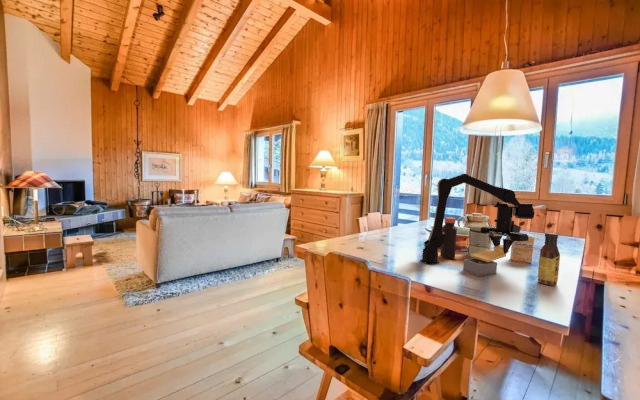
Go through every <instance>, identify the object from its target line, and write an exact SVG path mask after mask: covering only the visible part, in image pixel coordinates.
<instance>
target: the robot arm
mask: <svg viewBox="0 0 640 400" xmlns="http://www.w3.org/2000/svg"><path fill="white" fill-rule="evenodd" d="M462 184H466V185H467V186H468V185H469V186H471V187H474V188H476V189H477V190H480V191H483V192H484V193H487V194H489V195H491V196H492V197H493V198H495V199H496V200H497V201H496V202H494V203H493V204H492V205H491V206H492V207H493V208H496V219H494V221H493V222H494V223H495V227H494V226H482V227H480V228H481V230H480V233H483V234H487V233H488V232H489V235H488V237H490V239H491V243H492V244H493V247H495V246H498V245H501V239H502V238H503V237H505V238H503V239H502V245H503V249H504V254H506V255H507V254H508V253H509V252H508V250H509V249H511V246H512V243H513V242H514V241H528V235H529V234H527V233H525V232H521V229H522V227H521V226H519V225H518V224H515V221H514V220H513V217H514V218H515V219H519V220H520V219H521V220H522V219H523V220H533V218H534V217H535V210H534V207H533V205H534V204H533V203H531V202H526V203H523V202H521V203H520V201H519V200H518V199H517V198H516V192H515V191H514V190H512V189H508V188H504V187H500V186H496V185H493V184H490V183H488V182H485V181H483V180H480V179H478V178H476V177H473V176H472V175H471V176H470V175H469V174H467V173H461V174H459V175H457V176H453V177H450V178H441V179H439V180H438V181H437V184H436V185H437V202H436V207H435V214H434V220H433V226H432V228H431V231H430V232H429V236H428V239H427V240H425V241H424V242H423V246H424V247H423V248H422V257H421V259H419V261H420V262H422V263H424V264H427V265H430V266H431V265H436V264H437V265H438V264H440V262H439V259H438V258H439V251H438V250H439V248H441V246H442V244H443V243H444V238H445V235H446V234H445V233H444V232H442V227H443V226H444V225H443V224H444V221H445V213H446V208H447V201H448V198H449V197H450V194H451V192H452V189H453V188H454V187H457V186H460V185H462ZM499 201H500V202H502V203H500V202H499ZM507 252H508V253H507Z"/></svg>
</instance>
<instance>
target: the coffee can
mask: <svg viewBox="0 0 640 400" xmlns="http://www.w3.org/2000/svg"><path fill="white" fill-rule="evenodd" d="M481 228H482V227H476V226H475V227H474V226H473V227H469V237H468V250H467V256H469V257H471V254H474V253H478V252H481V251H484V250H488V249H489V250H492V249H491V247H492V240H491V239H490V237H488V235H489V232H488V233H487V234H483V233H480V230H481Z"/></svg>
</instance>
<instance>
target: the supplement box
mask: <svg viewBox="0 0 640 400" xmlns="http://www.w3.org/2000/svg"><path fill="white" fill-rule="evenodd" d="M527 235H528V241H514V242H513V243H512V245H511V246H510V257H509V259H510V260H511V261H512V262H517V263H518V262H519V263H529V264H532V263H533V262H532V261H533V256H534V244H535V243H534V242H535V236H533V235H532V234H527Z"/></svg>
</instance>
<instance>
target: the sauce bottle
mask: <svg viewBox="0 0 640 400" xmlns="http://www.w3.org/2000/svg"><path fill="white" fill-rule="evenodd" d="M544 238H545V239H544V245H543V246H542V247H541V248H540V251H539V252H540V253H539V259H538V269H537V282H538V283H540V284H541V285H545V286H553V287H555V286H557V284H558V281H559V280H558V279H559V271H560V259H561V253H560V251H559V247H558V239H559V234H558V233H555V232H545V233H544Z"/></svg>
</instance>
